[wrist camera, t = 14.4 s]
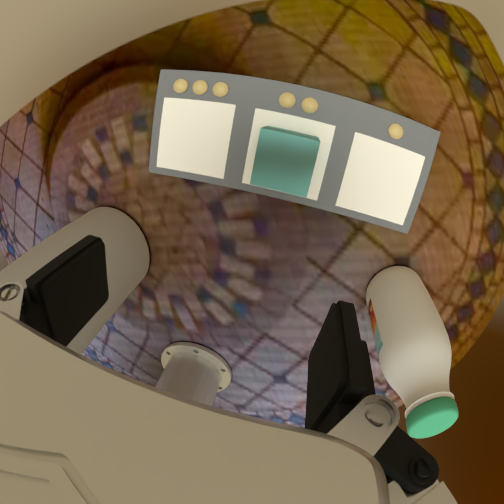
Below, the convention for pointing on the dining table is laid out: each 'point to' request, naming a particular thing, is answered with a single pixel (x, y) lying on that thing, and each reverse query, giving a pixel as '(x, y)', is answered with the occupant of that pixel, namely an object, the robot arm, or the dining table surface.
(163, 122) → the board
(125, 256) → the cylinder vase
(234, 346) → the dining table surface
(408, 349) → the milk bottle
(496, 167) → the dining table surface
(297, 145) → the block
